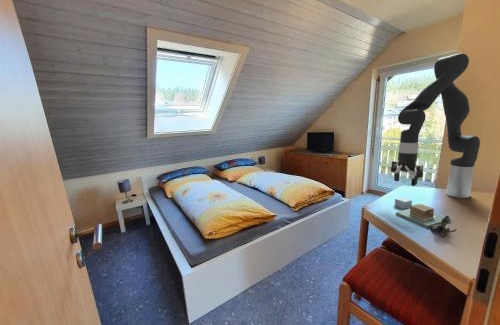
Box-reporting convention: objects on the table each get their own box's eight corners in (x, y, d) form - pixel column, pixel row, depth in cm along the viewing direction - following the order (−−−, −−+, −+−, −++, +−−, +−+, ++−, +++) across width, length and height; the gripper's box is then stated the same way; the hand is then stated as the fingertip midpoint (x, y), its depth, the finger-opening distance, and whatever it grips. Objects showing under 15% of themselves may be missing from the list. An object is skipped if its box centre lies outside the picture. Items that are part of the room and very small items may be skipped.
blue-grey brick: (401, 204, 114) (402, 197, 113) (411, 207, 109) (412, 200, 108) (394, 205, 112) (395, 198, 111) (404, 209, 107) (404, 202, 107)
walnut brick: (419, 211, 101) (420, 203, 100) (433, 216, 96) (434, 208, 95) (409, 213, 100) (410, 205, 99) (423, 219, 94) (424, 211, 93)
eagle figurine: (463, 237, 80) (453, 222, 87) (452, 223, 79) (444, 209, 87) (439, 243, 84) (432, 228, 91) (429, 229, 83) (422, 215, 91)
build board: (417, 209, 107) (417, 206, 106) (450, 221, 93) (450, 218, 93) (395, 214, 103) (396, 212, 102) (427, 228, 90) (427, 225, 89)
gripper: (429, 152, 99) (425, 186, 102) (399, 148, 112) (397, 178, 116) (417, 154, 97) (413, 188, 100) (388, 150, 110) (386, 180, 113)
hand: (404, 183), depth 108 cm, fingers open, 8 cm apart
